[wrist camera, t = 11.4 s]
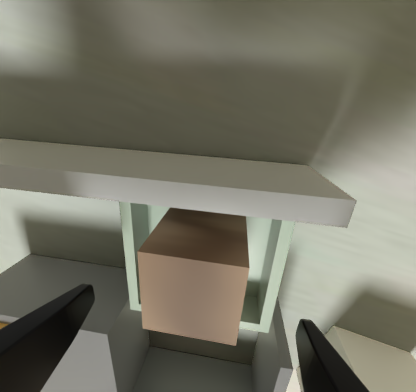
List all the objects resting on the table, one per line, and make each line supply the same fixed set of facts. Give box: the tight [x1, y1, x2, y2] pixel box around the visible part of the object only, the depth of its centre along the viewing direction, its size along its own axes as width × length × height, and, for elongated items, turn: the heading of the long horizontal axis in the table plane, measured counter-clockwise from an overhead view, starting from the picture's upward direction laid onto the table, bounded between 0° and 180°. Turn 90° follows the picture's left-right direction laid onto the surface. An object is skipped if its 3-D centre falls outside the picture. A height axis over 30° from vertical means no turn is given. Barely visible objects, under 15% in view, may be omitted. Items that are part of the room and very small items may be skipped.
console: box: [0, 254, 293, 392], centre depth 15 cm, size 9×20×5 cm, turn 86°
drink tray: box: [0, 138, 356, 333], centre depth 12 cm, size 10×20×5 cm, turn 86°
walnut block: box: [137, 207, 250, 346], centre depth 11 cm, size 4×4×4 cm
